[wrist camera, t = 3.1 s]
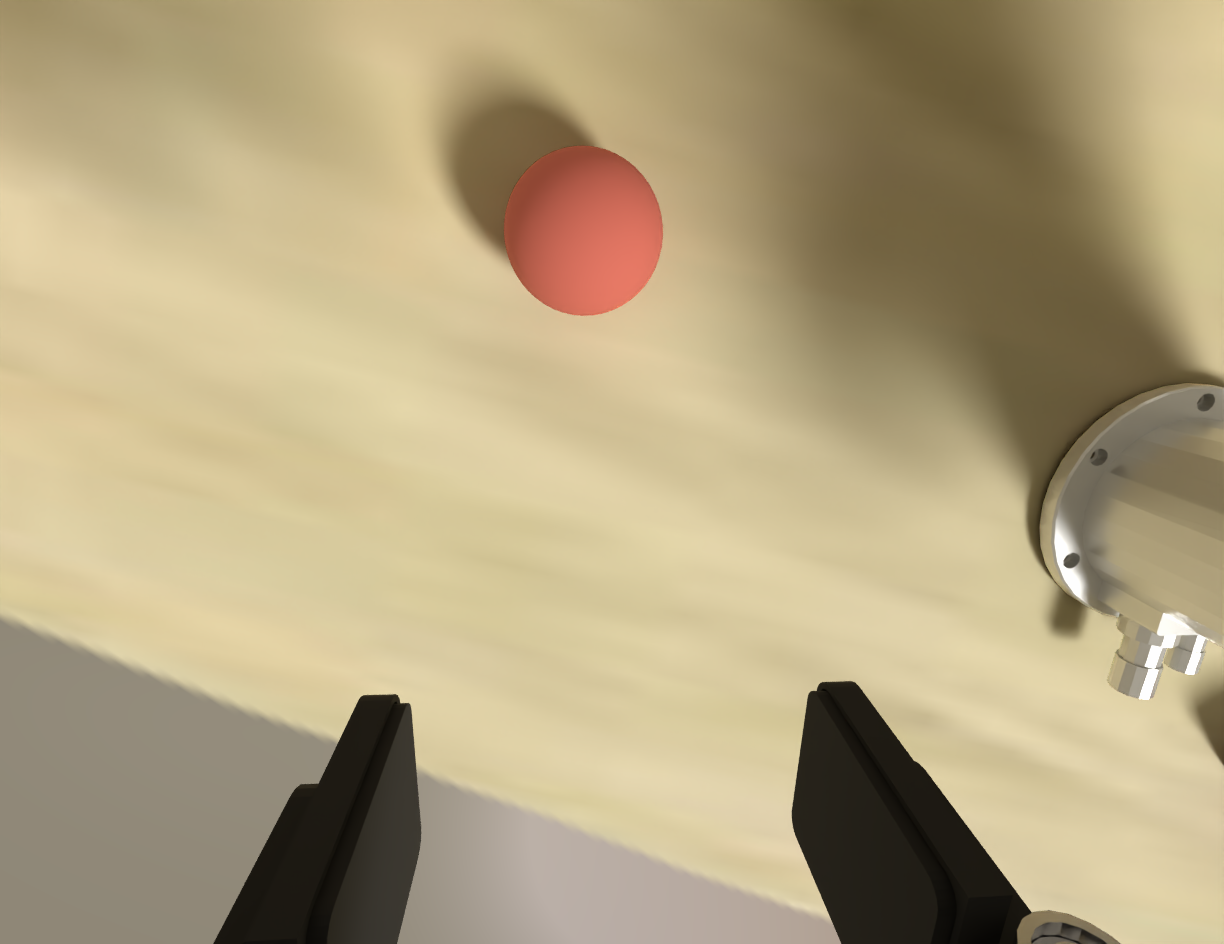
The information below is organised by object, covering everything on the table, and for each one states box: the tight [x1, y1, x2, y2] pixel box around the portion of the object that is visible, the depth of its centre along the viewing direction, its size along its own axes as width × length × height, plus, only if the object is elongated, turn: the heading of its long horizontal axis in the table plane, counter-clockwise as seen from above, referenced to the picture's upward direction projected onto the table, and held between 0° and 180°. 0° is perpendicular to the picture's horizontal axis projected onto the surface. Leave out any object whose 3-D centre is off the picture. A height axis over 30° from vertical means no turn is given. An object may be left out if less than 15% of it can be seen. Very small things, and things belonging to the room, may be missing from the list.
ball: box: [504, 146, 663, 316], centre depth 24 cm, size 6×6×6 cm
